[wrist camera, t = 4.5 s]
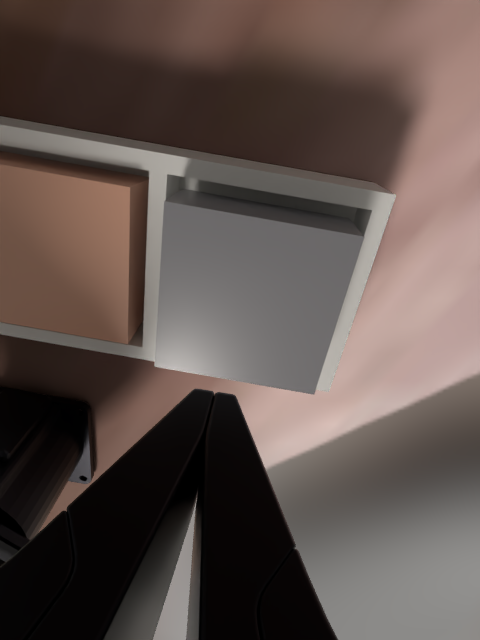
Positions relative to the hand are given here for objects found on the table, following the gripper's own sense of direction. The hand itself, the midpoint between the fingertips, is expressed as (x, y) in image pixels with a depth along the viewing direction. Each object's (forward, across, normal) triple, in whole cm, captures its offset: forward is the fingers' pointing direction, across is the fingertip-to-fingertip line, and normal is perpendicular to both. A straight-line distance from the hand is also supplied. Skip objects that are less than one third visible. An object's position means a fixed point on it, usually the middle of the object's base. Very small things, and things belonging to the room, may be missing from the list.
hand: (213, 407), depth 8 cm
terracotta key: (+9, +7, 0) cm, 11 cm away
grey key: (+8, 0, 0) cm, 8 cm away
